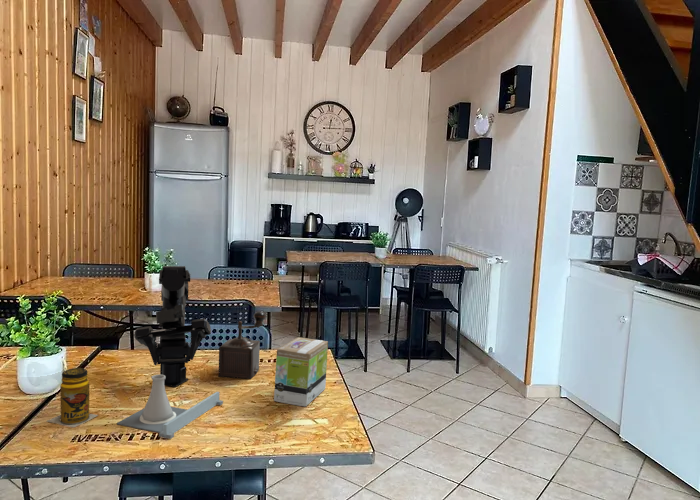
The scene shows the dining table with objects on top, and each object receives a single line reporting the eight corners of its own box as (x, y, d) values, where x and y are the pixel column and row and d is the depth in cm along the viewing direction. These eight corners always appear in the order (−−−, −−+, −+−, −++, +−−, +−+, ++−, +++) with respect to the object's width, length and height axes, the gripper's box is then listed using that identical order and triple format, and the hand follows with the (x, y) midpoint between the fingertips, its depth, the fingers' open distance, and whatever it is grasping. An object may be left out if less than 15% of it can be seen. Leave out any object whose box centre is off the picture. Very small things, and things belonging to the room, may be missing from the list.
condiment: (74, 428, 117) (74, 377, 116) (45, 421, 120) (45, 372, 119) (98, 416, 124) (98, 368, 123) (71, 410, 127) (71, 363, 126)
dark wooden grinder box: (252, 379, 154) (254, 321, 152) (217, 377, 155) (218, 319, 153) (265, 364, 169) (267, 311, 168) (233, 361, 170) (234, 308, 169)
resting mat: (116, 424, 120) (116, 422, 120) (153, 404, 132) (153, 402, 132) (163, 433, 116) (163, 432, 116) (196, 412, 129) (196, 410, 129)
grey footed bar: (159, 436, 115) (159, 423, 114) (212, 401, 136) (213, 391, 135) (170, 438, 114) (170, 425, 114) (222, 403, 135) (223, 392, 135)
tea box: (307, 408, 135) (309, 353, 134) (272, 402, 138) (274, 348, 136) (326, 389, 149) (328, 339, 148) (294, 384, 152) (296, 335, 151)
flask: (151, 425, 119) (152, 383, 118) (136, 415, 124) (136, 376, 123) (179, 416, 125) (180, 376, 124) (163, 407, 130) (164, 369, 129)
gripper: (128, 300, 132) (125, 358, 125) (201, 290, 134) (202, 346, 127) (142, 316, 142) (140, 371, 134) (210, 306, 144) (212, 360, 136)
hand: (173, 362), depth 133 cm, fingers open, 9 cm apart
